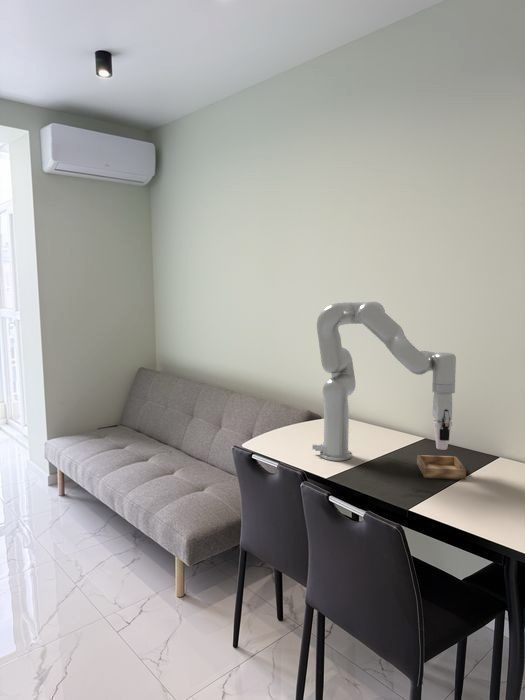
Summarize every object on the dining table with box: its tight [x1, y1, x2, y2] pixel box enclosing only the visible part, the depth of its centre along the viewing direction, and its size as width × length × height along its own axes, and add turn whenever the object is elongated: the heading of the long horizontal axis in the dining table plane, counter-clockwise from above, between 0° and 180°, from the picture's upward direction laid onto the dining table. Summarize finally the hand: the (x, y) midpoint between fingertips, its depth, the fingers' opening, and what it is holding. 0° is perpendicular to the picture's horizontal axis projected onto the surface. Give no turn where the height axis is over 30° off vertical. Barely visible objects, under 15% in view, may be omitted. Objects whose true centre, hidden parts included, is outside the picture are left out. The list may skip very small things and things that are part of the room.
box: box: [416, 454, 467, 480], centre depth 182 cm, size 14×14×4 cm
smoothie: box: [432, 419, 453, 451], centre depth 180 cm, size 6×6×14 cm
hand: (442, 436), depth 180 cm, fingers closed on smoothie, 6 cm apart
